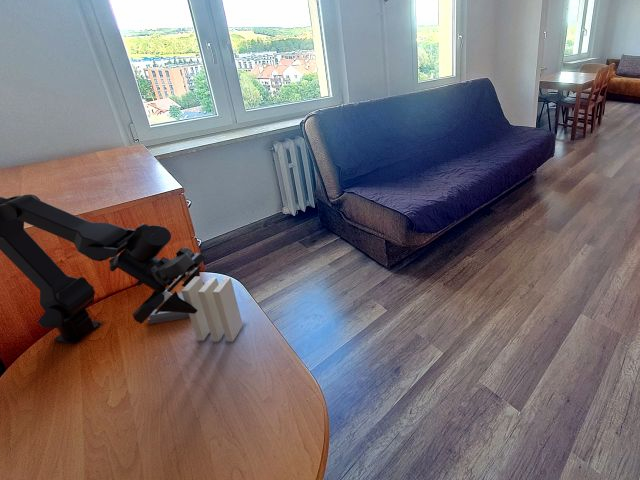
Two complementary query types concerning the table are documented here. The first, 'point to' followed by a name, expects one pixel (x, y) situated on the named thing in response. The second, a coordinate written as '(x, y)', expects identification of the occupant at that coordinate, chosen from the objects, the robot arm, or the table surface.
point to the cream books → (220, 309)
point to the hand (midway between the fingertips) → (203, 303)
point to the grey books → (167, 315)
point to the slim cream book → (193, 299)
